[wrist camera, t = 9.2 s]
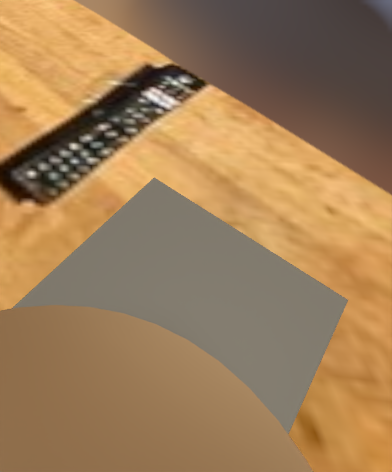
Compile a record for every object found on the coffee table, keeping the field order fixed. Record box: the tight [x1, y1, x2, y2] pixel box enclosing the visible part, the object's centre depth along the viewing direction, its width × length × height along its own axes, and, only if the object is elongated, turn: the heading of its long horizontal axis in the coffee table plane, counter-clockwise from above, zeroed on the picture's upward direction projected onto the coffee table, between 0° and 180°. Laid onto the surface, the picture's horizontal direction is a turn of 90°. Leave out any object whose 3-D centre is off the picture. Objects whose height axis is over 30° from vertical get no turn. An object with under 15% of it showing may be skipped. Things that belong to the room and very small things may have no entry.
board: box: [13, 178, 348, 434], centre depth 14 cm, size 18×13×4 cm
